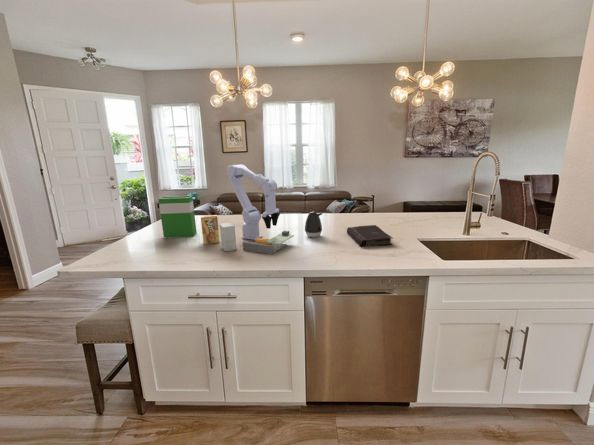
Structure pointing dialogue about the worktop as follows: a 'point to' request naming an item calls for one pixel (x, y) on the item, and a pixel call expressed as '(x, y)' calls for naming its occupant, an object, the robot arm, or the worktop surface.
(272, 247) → the large grey box
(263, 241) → the cylinder
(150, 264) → the worktop surface
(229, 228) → the small box
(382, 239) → the diary
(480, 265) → the worktop surface
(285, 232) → the cover
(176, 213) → the green cereal box
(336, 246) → the worktop surface
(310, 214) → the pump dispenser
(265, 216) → the robot arm
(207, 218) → the candy box
